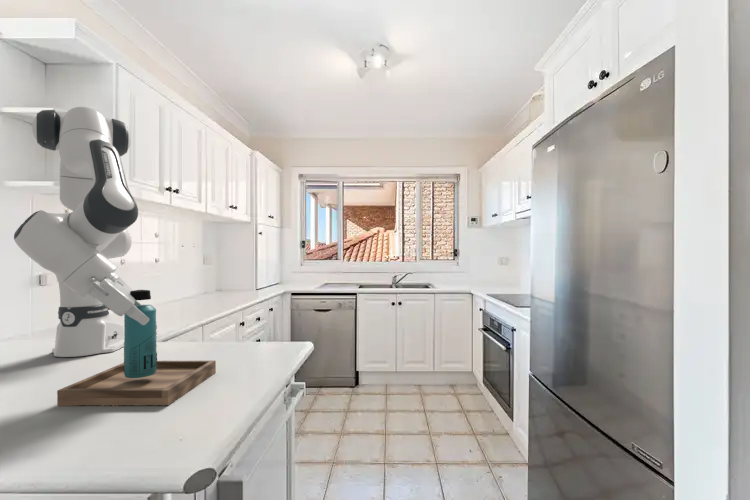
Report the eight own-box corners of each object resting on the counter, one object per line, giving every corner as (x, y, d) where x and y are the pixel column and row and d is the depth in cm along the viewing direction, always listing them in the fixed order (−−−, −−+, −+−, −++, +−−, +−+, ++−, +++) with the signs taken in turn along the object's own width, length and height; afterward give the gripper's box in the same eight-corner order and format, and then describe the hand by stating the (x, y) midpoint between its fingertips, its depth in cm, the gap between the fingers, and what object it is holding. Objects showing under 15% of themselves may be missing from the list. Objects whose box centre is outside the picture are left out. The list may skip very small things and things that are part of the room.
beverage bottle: (143, 386, 88) (143, 291, 88) (115, 384, 89) (115, 290, 89) (163, 377, 94) (164, 288, 94) (137, 376, 95) (137, 288, 95)
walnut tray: (128, 373, 103) (128, 360, 103) (215, 372, 102) (215, 360, 102) (57, 405, 81) (57, 390, 81) (168, 405, 80) (167, 390, 80)
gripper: (101, 267, 79) (159, 314, 84) (110, 264, 97) (157, 303, 102) (72, 292, 77) (134, 338, 82) (87, 284, 95) (137, 323, 100)
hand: (147, 319), depth 92 cm, fingers open, 8 cm apart
